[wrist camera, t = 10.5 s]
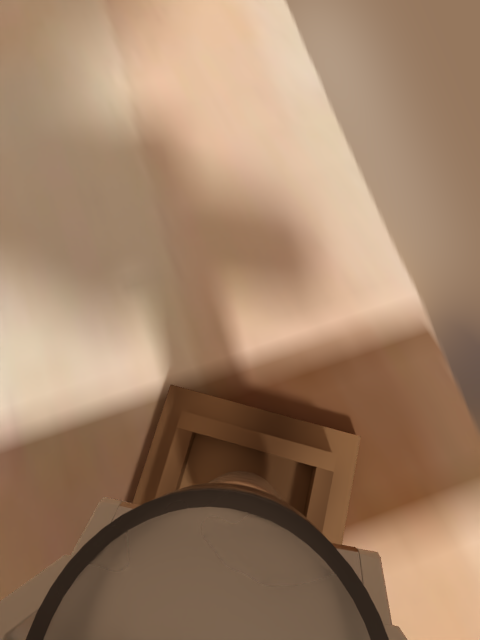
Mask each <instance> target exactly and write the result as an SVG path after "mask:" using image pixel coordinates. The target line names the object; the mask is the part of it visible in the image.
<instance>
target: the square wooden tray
mask: <svg viewBox="0 0 480 640" xmlns="http://www.w3.org/2000/svg"><path fill="white" fill-rule="evenodd" d="M360 438H361V436H357V435H354V434H350V433H346V432H343V431H339V430H335V429H332V428H328V427H324V426H321V425H317V424H313V423H310V422H306V421H302V420H299V419H295V418H291V417H288V416H284V415H280V414H277V413H273V412H269V411H266V410H262V409H258V408H255V407H251V406H247V405H244V404H240V403H236V402H233V401H229V400H225V399H222V398H218V397H214V396H211V395H207V394H203V393H200V392H196V391H192V390H189V389H185V388H182V387H178V386H174V385H170V388H169V391H168V394H167V397H166V400H165V403H164V407H163V410H162V413H161V416H160V419H159V422H158V425H157V428H156V431H155V434H154V437H153V441H152V444H151V447H150V450H149V453H148V456H147V459H146V462H145V465H144V468H143V471H142V475H141V478H140V481H139V484H138V487H137V490H136V493H135V496H134V499H133V502H132V503H134V504H139V505H142V504H144V503H146V502H149V501H151V500H153V499H156V498H158V497H160V496H162V495H165V494H167V493H170V492H173V491H175V490H178V489H181V488H184V487H188V486H193V485H198V484H204V483H209V482H210V481H212V480H214V479H215V478H217V477H219V476H221V475H223V474H226V473H228V472H233V471H246V472H250V473H254V474H256V475H258V476H260V477H262V478H264V479H265V480H266V481H268V482H269V483H270V484H271V485H272V486H273V488H274V489H275V490H276V491H277V493H278V494H279V495H280V497H281V498H282V500H283V501H285V502H287V503H288V504H289V505H291V506H292V507H294V508H295V509H296V510H298V511H299V512H301V513H302V514H303V515H304V516H305V517H306V518H307V519H308V520H309V521H310V522H312V523H313V524H314V525H315V526H316V527H317V528H318V529H319V530H320V532H321V533H322V534H323V535H324V536H325V537H326V538H327V539H328V540H329V541H330V542H331V543H335V544H340V545H342V541H343V535H344V529H345V523H346V518H347V512H348V506H349V501H350V495H351V489H352V484H353V478H354V472H355V467H356V461H357V455H358V450H359V444H360Z"/></svg>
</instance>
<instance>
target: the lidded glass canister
mask: <svg viewBox="0 0 480 640" xmlns="http://www.w3.org/2000/svg"><path fill="white" fill-rule="evenodd" d="M26 640H389V638H388V636H387V633H386V630H385V628H384V625H383V622H382V620H381V617H380V615H379V613H378V611H377V609H376V607H375V605H374V603H373V601H372V599H371V597H370V595H369V593H368V591H367V590H366V588H365V587H364V585H363V583H362V582H361V580H360V579H359V577H358V576H357V574H356V573H355V571H354V570H353V568H352V567H351V566H350V565H349V563H348V562H347V561H346V560H345V559H344V557H343V556H342V555H341V554H340V553H339V551H338V550H337V549H336V548H335V547H334V546H333V545H332V544H331V542H330V541H329V540H328V539H327V538H326V537H325V536H324V535H323V534H322V533H321V532H320V530H319V529H318V528H317V527H316V526H315V525H314V524H313V523H312V522H310V521H309V520H308V519H307V518H306V517H305V516H304V515H303V514H302V513H301V512H299V511H298V510H296V509H295V508H294V507H292V506H291V505H289V504H288V503H287V502H285V501H283V500H282V498H281V497H280V495H279V494H278V493H277V491H276V490H275V489H274V488H273V486H272V485H271V484H270V483H269V482H268V481H266V480H265V479H264V478H262V477H260V476H258V475H256V474H254V473H250V472H246V471H233V472H228V473H226V474H223V475H221V476H219V477H217V478H215V479H214V480H212V481H210V482H209V483H204V484H198V485H193V486H188V487H184V488H181V489H178V490H175V491H173V492H170V493H167V494H165V495H162V496H160V497H158V498H156V499H153V500H151V501H149V502H146V503H144V504H142V505H140V506H138V507H136V508H134V509H132V510H130V511H128V512H127V513H125V514H123V515H121V516H120V517H118V518H117V519H115V520H114V521H113V522H111V523H110V524H108V525H107V526H105V527H104V528H102V529H101V530H100V531H99V532H98V533H97V534H96V535H95V536H93V537H92V538H91V539H90V540H89V541H88V542H87V543H86V544H84V545H83V547H82V548H81V549H80V550H79V551H78V552H77V553H76V554H75V556H74V557H73V558H72V559H71V560H70V561H69V562H68V563H67V565H66V566H65V567H64V569H63V570H62V572H61V573H60V575H59V576H58V577H57V579H56V580H55V582H54V583H53V585H52V586H51V588H50V589H49V591H48V593H47V595H46V597H45V598H44V600H43V602H42V604H41V606H40V607H39V609H38V611H37V613H36V616H35V618H34V620H33V623H32V625H31V628H30V630H29V632H28V635H27V637H26Z"/></svg>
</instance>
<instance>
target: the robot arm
mask: <svg viewBox="0 0 480 640" xmlns="http://www.w3.org/2000/svg"><path fill="white" fill-rule="evenodd" d="M138 506H140V505H139V504H134V503H130V502H125V501H121V500H116V499H112V498H107V497H104V498H103V499H102V500H101V501H100V502H99V504H98V506H97V508H96V510H95V511H94V513H93V515H92V517H91V519H90V521H89V523H88V524H87V526H86V528H85V530H84V532H83V534H82V536H81V537H80V539H79V541H78V543H77V545H76V547H75V548H74V550H73V552H72V554H71V556H69V555H64V556H63V557H61V558H60V559H58V560H57V561H56V562H54V563H53V564H51V565H50V566H49V567H47V568H46V569H44V570H43V571H42V572H40V573H39V574H37V575H36V576H35V577H33V578H32V579H30V580H29V581H28V582H26V583H25V584H23V585H22V586H21V587H19V588H18V589H16V590H15V591H14V592H12V593H11V594H9V595H8V596H7V597H5V598H4V599H3V600H1V601H0V640H26V637H27V635H28V632H29V630H30V628H31V625H32V623H33V620H34V618H35V616H36V613H37V611H38V609H39V607H40V606H41V604H42V602H43V600H44V598H45V597H46V595H47V593H48V591H49V589H50V588H51V586H52V585H53V583H54V582H55V580H56V579H57V577H58V576H59V575H60V573H61V572H62V570H63V569H64V567H65V566H66V565H67V563H68V562H69V561H70V560H71V559H72V558H73V557H74V556H75V554H76V553H77V552H78V551H79V550H80V549H81V548H82V547H83V545H84V544H86V543H87V542H88V541H89V540H90V539H91V538H92V537H93V536H95V535H96V534H97V533H98V532H99V531H100V530H101V529H102V528H104V527H105V526H107V525H108V524H110V523H111V522H113V521H114V520H115V519H117V518H118V517H120V516H121V515H123V514H125V513H127V512H128V511H130V510H132V509H134V508H136V507H138ZM331 544H332V545H333V546H334V547H335V548H336V549H337V550H338V551H339V553H340V554H341V555H342V556H343V557H344V559H345V560H346V561H347V562H348V563H349V565H350V566H351V567H352V568H353V570H354V571H355V573H356V574H357V576H358V577H359V579H360V580H361V582H362V583H363V585H364V587H365V588H366V590H367V591H368V593H369V595H370V597H371V599H372V601H373V603H374V605H375V607H376V609H377V611H378V613H379V615H380V617H381V620H382V622H383V625H384V628H385V630H386V633H387V636H388V638H389V640H407V638H406V637H405V635H404V634H403V632H402V631H401V630H400V628H399V627H397V626H394V625H392V621H391V615H390V610H389V604H388V598H387V592H386V586H385V580H384V575H383V569H382V563H381V557H380V556H379V554H378V553H377V552H374V551H368V550H363V549H357V548H356V547H351V546H345V545H340V544H335V543H331Z"/></svg>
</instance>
